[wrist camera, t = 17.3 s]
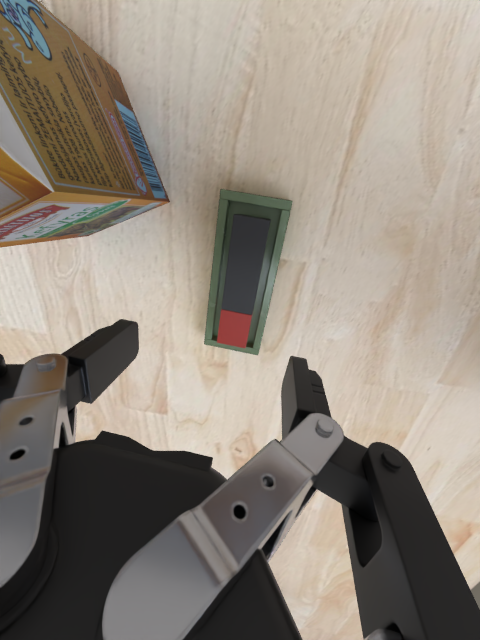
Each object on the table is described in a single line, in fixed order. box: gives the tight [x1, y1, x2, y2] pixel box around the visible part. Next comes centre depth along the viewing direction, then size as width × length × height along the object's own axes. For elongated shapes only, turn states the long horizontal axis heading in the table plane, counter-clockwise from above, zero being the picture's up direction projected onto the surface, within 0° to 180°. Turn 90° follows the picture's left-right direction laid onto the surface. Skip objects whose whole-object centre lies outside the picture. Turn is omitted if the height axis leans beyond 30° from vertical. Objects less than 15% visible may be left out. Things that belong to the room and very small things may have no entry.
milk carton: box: [0, 0, 170, 247], centre depth 15 cm, size 10×11×19 cm
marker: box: [217, 214, 271, 348], centre depth 25 cm, size 13×3×3 cm, turn 171°
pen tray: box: [204, 189, 292, 355], centre depth 26 cm, size 17×7×2 cm, turn 171°
